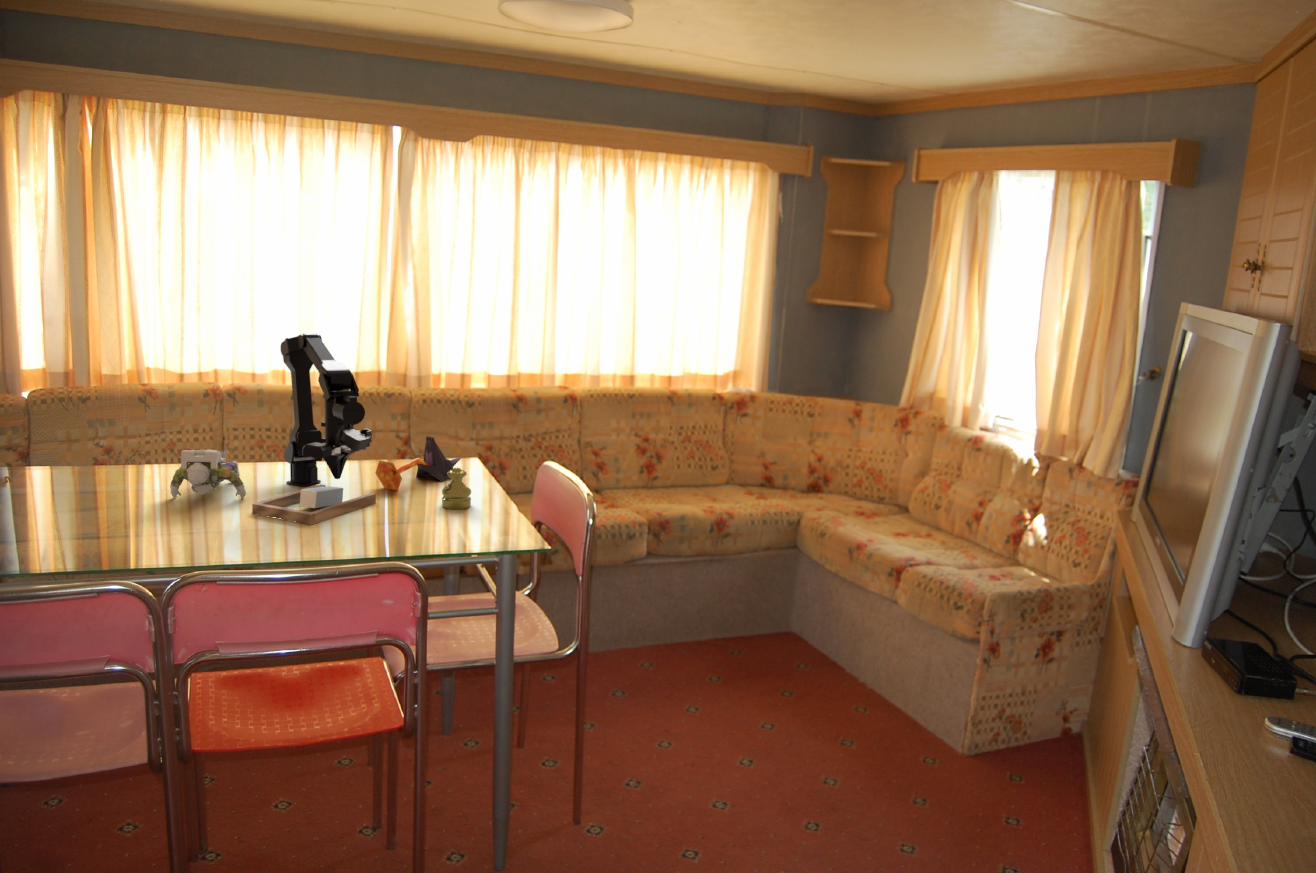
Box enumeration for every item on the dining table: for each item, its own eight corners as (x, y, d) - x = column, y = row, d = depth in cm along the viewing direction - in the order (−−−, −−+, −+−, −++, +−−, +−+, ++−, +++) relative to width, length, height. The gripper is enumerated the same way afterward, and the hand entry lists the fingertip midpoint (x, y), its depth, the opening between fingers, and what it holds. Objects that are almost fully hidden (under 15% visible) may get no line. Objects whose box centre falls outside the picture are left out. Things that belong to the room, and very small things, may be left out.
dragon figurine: (371, 457, 250) (432, 425, 270) (378, 497, 254) (438, 463, 275) (401, 463, 245) (460, 430, 265) (407, 504, 250) (466, 468, 270)
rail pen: (252, 514, 221) (252, 503, 220) (321, 493, 242) (321, 484, 242) (310, 525, 214) (310, 514, 214) (375, 503, 236) (375, 493, 236)
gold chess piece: (455, 500, 243) (456, 463, 241) (477, 505, 239) (477, 468, 237) (435, 506, 237) (436, 468, 235) (457, 511, 233) (457, 473, 231)
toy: (190, 496, 246) (153, 501, 217) (191, 449, 247) (154, 448, 217) (261, 496, 250) (233, 502, 221) (262, 450, 250) (235, 449, 221)
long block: (327, 501, 235) (299, 505, 226) (329, 485, 235) (300, 489, 226) (342, 503, 234) (314, 508, 224) (343, 488, 233) (315, 492, 224)
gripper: (337, 427, 220) (338, 490, 223) (386, 416, 237) (386, 475, 240) (300, 422, 224) (301, 484, 227) (351, 412, 241) (351, 470, 244)
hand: (337, 478), depth 234 cm, fingers closed
